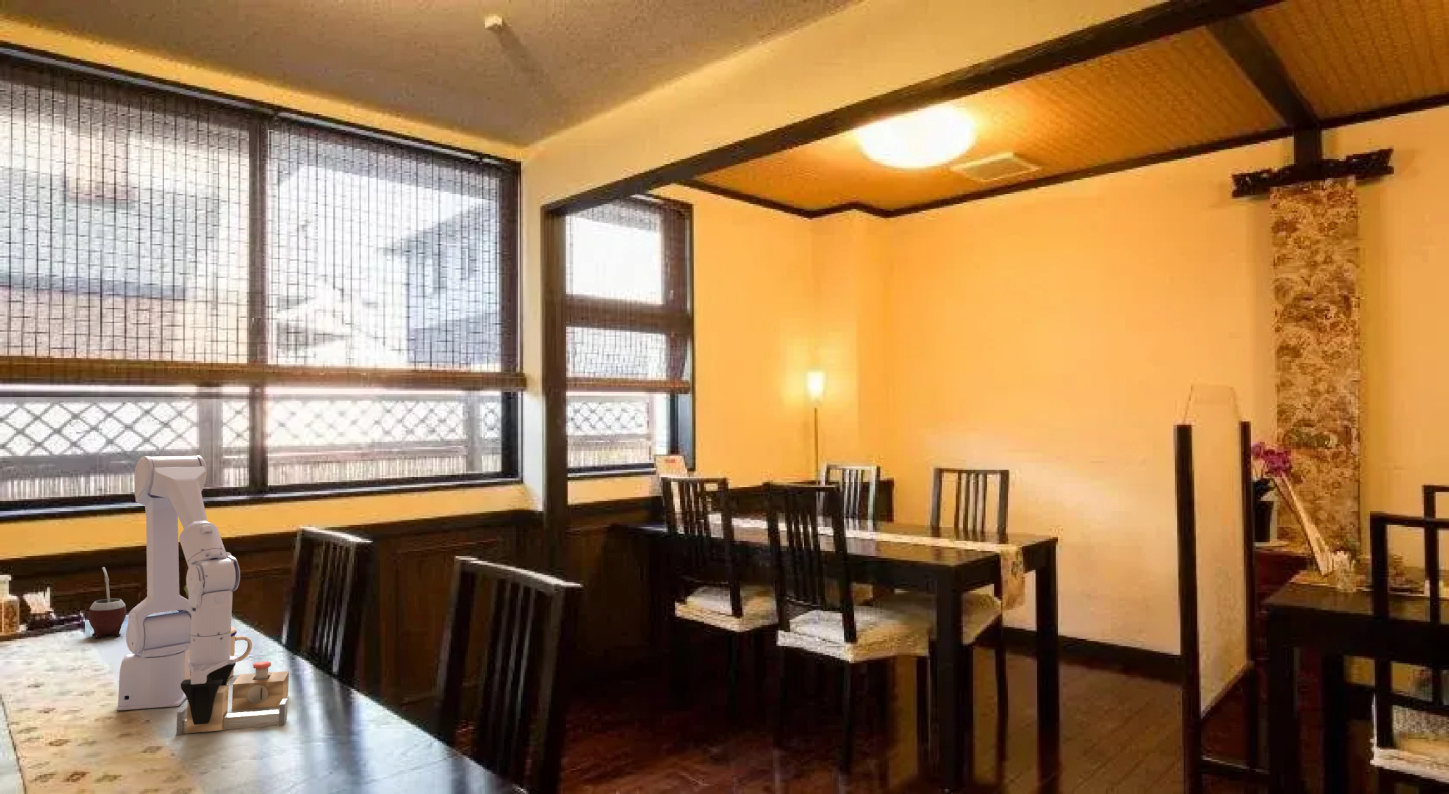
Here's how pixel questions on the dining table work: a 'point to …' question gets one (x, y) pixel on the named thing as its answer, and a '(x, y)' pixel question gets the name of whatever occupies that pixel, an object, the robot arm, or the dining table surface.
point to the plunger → (261, 670)
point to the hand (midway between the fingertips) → (207, 715)
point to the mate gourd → (107, 615)
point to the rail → (242, 718)
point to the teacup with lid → (232, 649)
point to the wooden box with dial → (259, 691)
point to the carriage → (217, 713)
